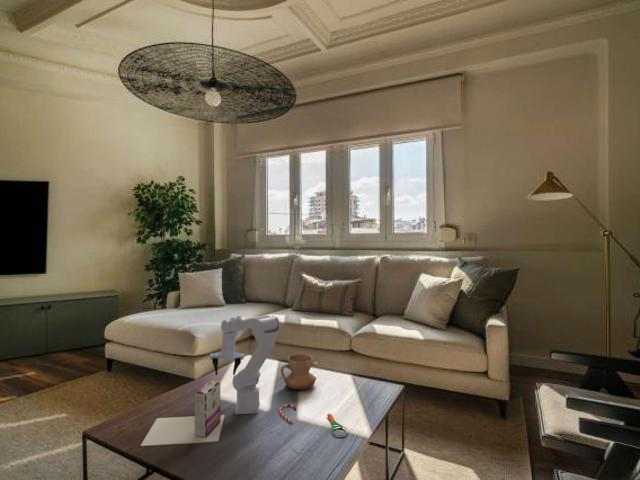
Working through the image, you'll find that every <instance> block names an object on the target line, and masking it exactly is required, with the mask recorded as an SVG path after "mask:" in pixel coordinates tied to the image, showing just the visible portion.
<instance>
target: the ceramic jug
mask: <svg viewBox="0 0 640 480" xmlns="http://www.w3.org/2000/svg"><path fill="white" fill-rule="evenodd" d="M313 360H314V359H313V356H312V355H311V354H308V353H296V354H291V355H288V356H287V364H286V363H284V364H283V365H281V367H280V375H281V377H282V379H283V382H284V384H285V385H286V386H287V387H288V388H289V389H292V390H296V391H304V390H308V389H311V388H312V387H313V386H314V385H315V383H316V380H317V377H316V376H314V374H313V373H311V372H310V370H311V368H312V367H314V366H315V367H316V366H317V367H318V362H316V361H315V362H313ZM284 369H289V370H290V373H289V374H288V375H287V376H285V374H284Z"/></svg>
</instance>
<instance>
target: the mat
mask: <svg viewBox="0 0 640 480" xmlns="http://www.w3.org/2000/svg"><path fill="white" fill-rule="evenodd" d="M224 420H225V414H220V421H221V422H220V423H219V424H218V425H217V426H216V427H215V428H214V429H213V431H212V432H211V433H210V434H209V435H208V436H207V437H206V438H205V437H197V436H195V415H193V416H192V415H191V416H177V417H176V416H175V417H172V416H171V417H158V418H156V419H155V421H154V422H153V424H152V426H151V427H150V430H149V431H148V433H147V434H146V436H145V438H144V439H143V441H142V442H141V444H140V447H153V446H155V447H156V446H169V445H170V446H171V445H187V444H201V443H214V442H215V443H216V442H219V440H220V437H221V436H220V435H221V432H222V429H223V428H222V427H223V424H224Z"/></svg>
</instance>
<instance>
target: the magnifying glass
mask: <svg viewBox="0 0 640 480" xmlns="http://www.w3.org/2000/svg"><path fill="white" fill-rule="evenodd" d="M326 416H328V417H327V419H328V418H329V419H330V420H329V419H328V420H329V422H330V421H331V422H332V424H331V430H330V432H332V433H333V432H334V431H333V429H334V428H336V427H341V428H343V427H344V428H345V429H346V430H347V431H348V429H347V428H346V427H345V426H343V425H341V424H340V423H339V422H337V421H336V420H335V418H334V415H332V413H327V415H326ZM331 422H330V423H331ZM334 425H338V426H334ZM333 434H334V435H336V434H337V433H335V432H334V433H333ZM338 436H343V435H342V434H338Z"/></svg>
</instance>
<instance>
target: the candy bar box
mask: <svg viewBox="0 0 640 480" xmlns="http://www.w3.org/2000/svg"><path fill="white" fill-rule="evenodd" d="M193 396H194V416H195V436H197V437H205V438H206V437H207V436H208V435H209V434H210V433H211V432H212V431H213V429H214V428H215V427H216V426H217V425H218V424H219V423H220V422H221V421H220V415H221V381H220V380H216V379H209V380H207V381H206V382H205V383H204V384H203V385H201V387H199V388H197V390H195V391H194V395H193Z"/></svg>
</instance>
